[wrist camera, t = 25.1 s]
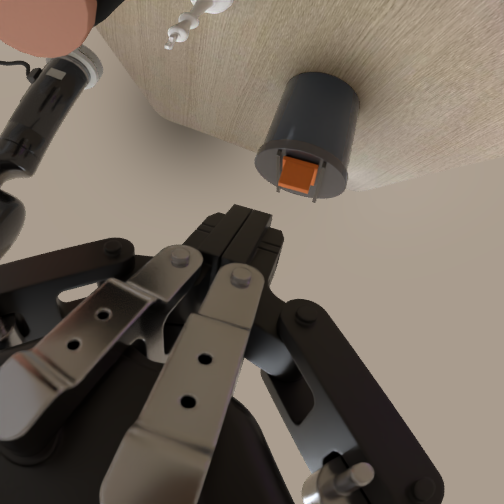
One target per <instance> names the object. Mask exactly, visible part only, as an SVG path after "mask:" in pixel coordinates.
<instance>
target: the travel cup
mask: <svg viewBox="0 0 504 504" xmlns="http://www.w3.org/2000/svg"><path fill="white" fill-rule="evenodd" d="M359 109H360V102H359V98H358V96H357V94H356V93H355V91H354V90H353V89H352V88H351V87H350V86H349V85H348V84H347V83H345V82H344V81H342V80H341V79H339V78H337V77H335V76H332V75H329V74H325V73H320V72H307V73H302V74H299V75H296V76H295V77H293V78H292V79H290V81H289V82H288V83H287V85H286V87H285V90H284V92H283V95H282V97H281V100H280V103H279V105H278V108H277V110H276V113H275V115H274V118H273V121H272V123H271V126H270V128H269V131H268V134H267V136H266V139H265V142H264V144H263V145H262V146H261V147H260V148H259V150H258V152H257V155H256V158H255V167H256V169H257V171H258V172H259V173H260V175H261V176H262V177H263V178H265V179H266V180H267V181H268V182H270V183H272V184H273V185H275V186H277V192H280V190H281V189H283V190H285V191H288V192H290V193H293V194H296V195H300V196H304V197H310V198H313V201H312V202H314V203H315V202H316V199H317V198H332V197H336V196H338V195H340V194H341V193H342V192H344V190H345V189H346V185H347V181H348V173H347V168H348V164H349V159H350V155H351V150H352V145H353V140H354V135H355V130H356V125H357V120H358V114H359ZM284 156H287V157H291V158H295V159H299V160H302V161H306V162H309V163H313V164H316V165H319V167H318V171H317V175H316V179H315V183H314V186H312V185H310V188H309V192H308V194H306V193H302V192H299V191H295V190H292V189H288V188H285V187H281V186H278V182H279V179H280V176H281V173H282V168H283V157H284Z"/></svg>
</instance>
